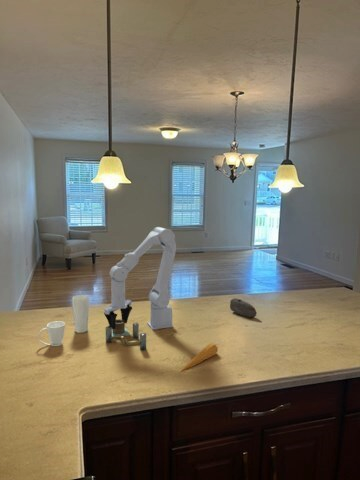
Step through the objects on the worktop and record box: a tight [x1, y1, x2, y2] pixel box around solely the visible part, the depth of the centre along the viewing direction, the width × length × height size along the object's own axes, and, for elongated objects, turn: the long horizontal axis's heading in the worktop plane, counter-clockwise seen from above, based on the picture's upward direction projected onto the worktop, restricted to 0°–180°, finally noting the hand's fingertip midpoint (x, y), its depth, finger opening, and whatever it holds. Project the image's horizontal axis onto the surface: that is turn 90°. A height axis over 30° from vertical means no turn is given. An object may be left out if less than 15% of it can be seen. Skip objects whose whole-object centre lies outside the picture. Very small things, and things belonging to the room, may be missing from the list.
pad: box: [112, 326, 131, 339], centre depth 152 cm, size 8×8×1 cm
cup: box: [38, 320, 66, 347], centre depth 139 cm, size 7×10×8 cm
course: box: [105, 322, 147, 351], centre depth 140 cm, size 14×15×6 cm
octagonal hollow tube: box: [112, 318, 126, 334], centre depth 151 cm, size 5×5×4 cm
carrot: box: [179, 342, 219, 372], centre depth 128 cm, size 20×4×4 cm, turn 138°
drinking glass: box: [71, 294, 90, 334], centre depth 152 cm, size 7×7×15 cm
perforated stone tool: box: [229, 298, 257, 318], centre depth 176 cm, size 15×5×7 cm, turn 39°
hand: (118, 325), depth 151 cm, fingers open, 7 cm apart
